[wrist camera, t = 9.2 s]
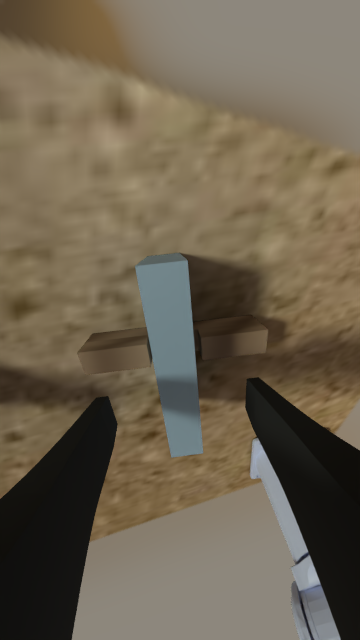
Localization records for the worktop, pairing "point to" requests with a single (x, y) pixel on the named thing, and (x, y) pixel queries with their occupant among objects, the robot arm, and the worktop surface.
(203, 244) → the worktop surface
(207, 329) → the walnut slotted board
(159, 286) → the slate-blue slotted board
